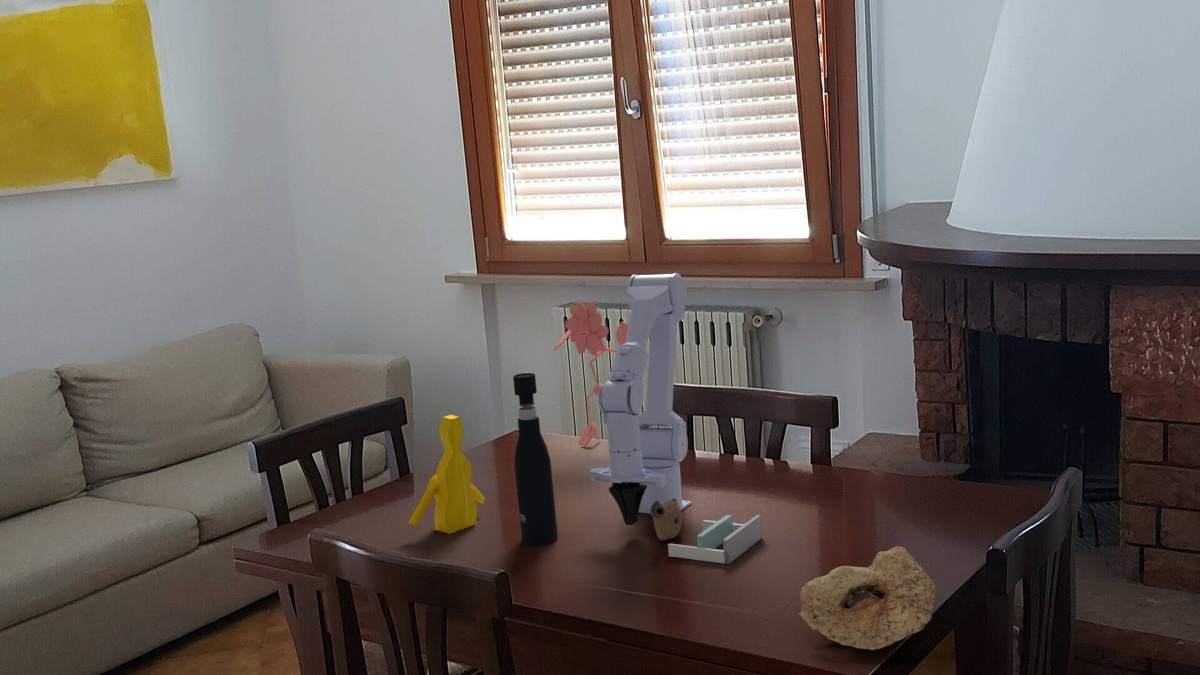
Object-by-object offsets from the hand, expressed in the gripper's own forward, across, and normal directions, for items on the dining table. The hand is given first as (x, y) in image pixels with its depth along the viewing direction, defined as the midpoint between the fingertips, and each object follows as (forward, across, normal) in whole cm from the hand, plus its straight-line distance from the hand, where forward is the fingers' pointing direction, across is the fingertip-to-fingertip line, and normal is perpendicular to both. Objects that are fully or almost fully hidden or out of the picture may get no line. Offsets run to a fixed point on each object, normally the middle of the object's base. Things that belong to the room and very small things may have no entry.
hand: (631, 523), depth 205 cm
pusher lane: (+2, +16, 0) cm, 16 cm away
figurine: (+3, -36, +43) cm, 56 cm away
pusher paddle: (+2, +16, 0) cm, 16 cm away
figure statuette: (+3, -34, -8) cm, 35 cm away
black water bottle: (+3, -15, -7) cm, 17 cm away
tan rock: (+4, +52, -20) cm, 55 cm away
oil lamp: (+3, +7, 0) cm, 7 cm away
